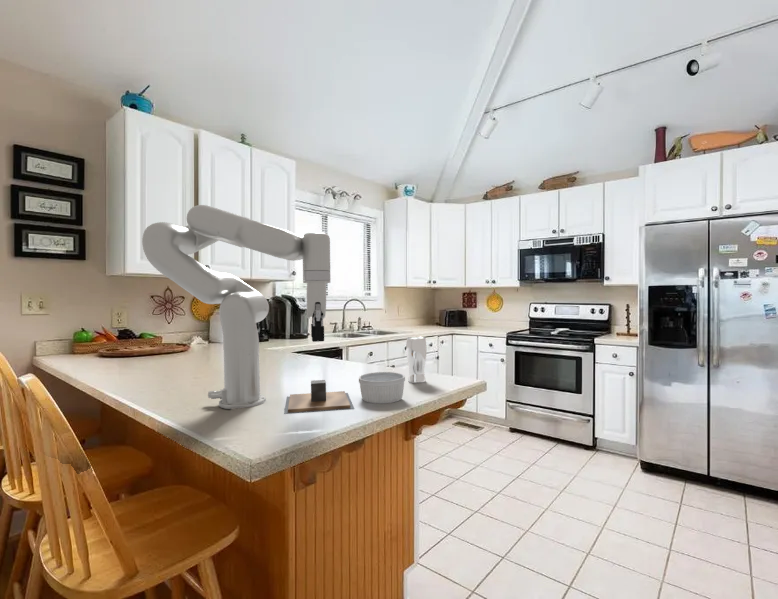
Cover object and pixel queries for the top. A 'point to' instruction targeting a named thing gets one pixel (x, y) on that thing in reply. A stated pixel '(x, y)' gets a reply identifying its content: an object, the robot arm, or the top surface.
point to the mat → (317, 410)
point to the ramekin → (382, 387)
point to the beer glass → (416, 358)
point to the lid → (318, 399)
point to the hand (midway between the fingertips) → (317, 339)
